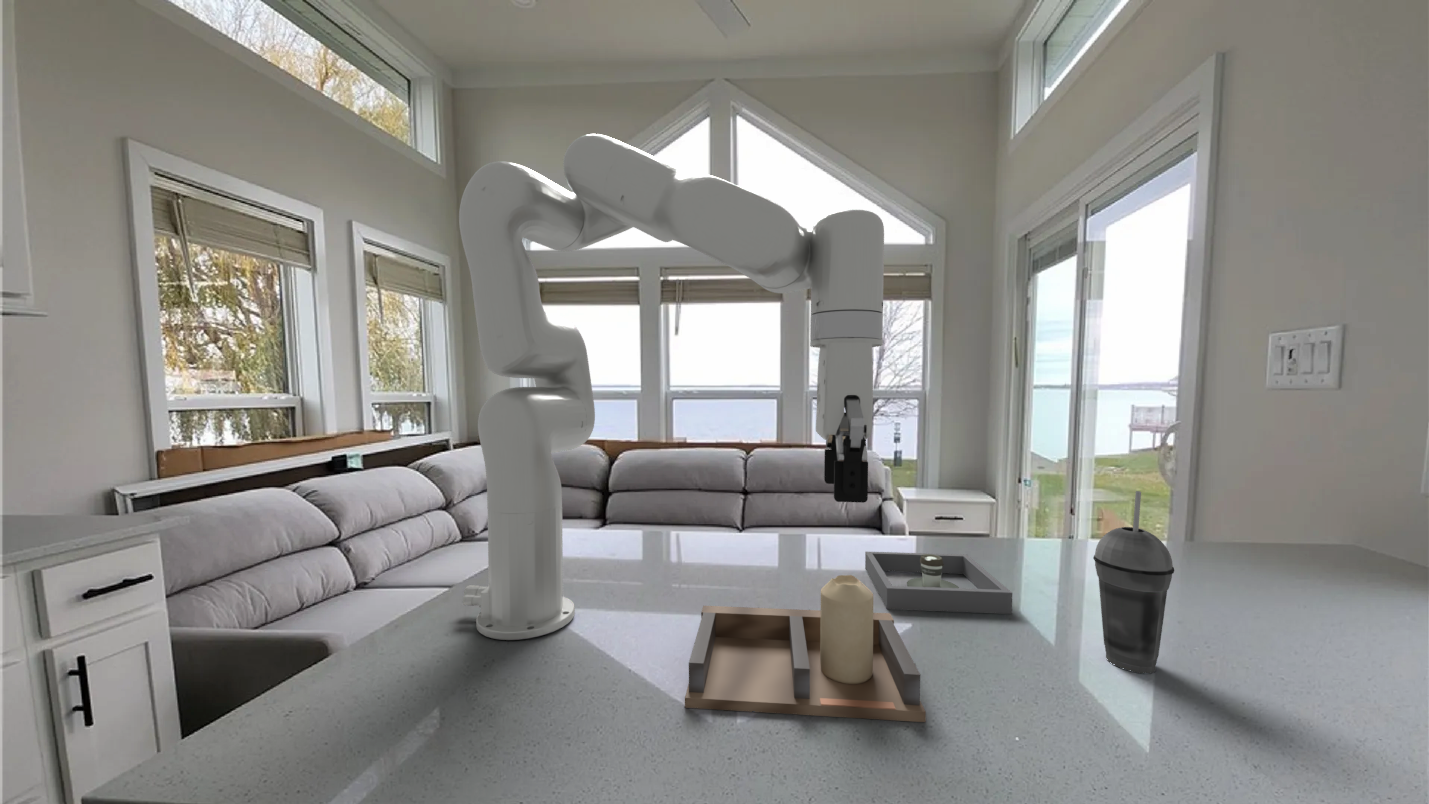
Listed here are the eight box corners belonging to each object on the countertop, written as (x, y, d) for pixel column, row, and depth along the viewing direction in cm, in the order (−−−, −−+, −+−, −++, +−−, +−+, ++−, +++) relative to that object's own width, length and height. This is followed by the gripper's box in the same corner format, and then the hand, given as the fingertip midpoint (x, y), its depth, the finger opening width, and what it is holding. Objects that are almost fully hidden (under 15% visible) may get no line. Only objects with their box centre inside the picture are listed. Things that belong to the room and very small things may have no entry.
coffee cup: (977, 583, 85) (978, 552, 85) (967, 609, 75) (968, 574, 75) (900, 569, 92) (900, 540, 92) (881, 592, 82) (881, 560, 82)
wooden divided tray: (684, 707, 53) (684, 667, 53) (703, 636, 68) (703, 605, 67) (925, 722, 50) (926, 680, 50) (889, 645, 65) (890, 613, 65)
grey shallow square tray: (886, 609, 76) (886, 588, 76) (865, 568, 93) (865, 551, 93) (1012, 614, 74) (1012, 592, 74) (966, 571, 91) (967, 554, 91)
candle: (874, 687, 54) (875, 591, 54) (819, 681, 55) (820, 586, 55) (871, 660, 60) (871, 572, 59) (820, 655, 61) (821, 568, 61)
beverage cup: (1154, 653, 63) (1158, 485, 63) (1185, 685, 56) (1190, 498, 56) (1082, 643, 66) (1085, 482, 65) (1104, 673, 59) (1107, 493, 58)
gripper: (805, 339, 66) (803, 477, 66) (817, 323, 49) (815, 509, 49) (867, 339, 65) (865, 478, 66) (901, 322, 48) (898, 511, 48)
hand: (843, 491), depth 57 cm, fingers open, 9 cm apart
